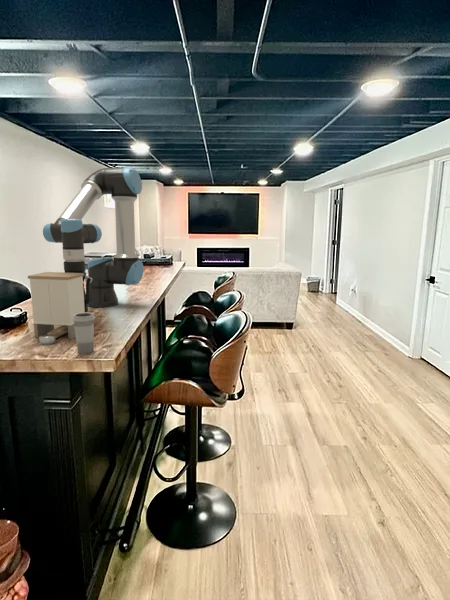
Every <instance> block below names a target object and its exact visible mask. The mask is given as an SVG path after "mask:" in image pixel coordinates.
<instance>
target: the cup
mask: <svg viewBox="0 0 450 600" xmlns="http://www.w3.org/2000/svg"><path fill="white" fill-rule="evenodd" d="M95 319H96V317H95V316H94V313H92V312H89V311H88V312H84V313H77V314H74V317H73V319H72V320H73V321H74V328H75V336H76V337H75V341H76V346H77V353H78V354H85V355H86V354H90V353H91V354H92V353H93V352H94V340H95V323H94V320H95Z"/></svg>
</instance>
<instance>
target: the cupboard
mask: <svg viewBox="0 0 450 600" xmlns="http://www.w3.org/2000/svg"><path fill="white" fill-rule="evenodd" d="M83 276H84V273H65V271H64V272H61V271H56V272H55V271H44V272H39V273H35V274H30V275H27V279H29V286H30V296H31V297H30V298H31V308H32V319H33V320H32V321H33V331H34V338H39V336H41V335H45V334H47V333H48V332H50V331H52V330H54V329H55V326H63V325H68V332H67V336H68V340H73V339H76V336H75V328H74V321H73V320H72V319H73V317H74V314H77V313H84V312H85V308H84V292H83Z"/></svg>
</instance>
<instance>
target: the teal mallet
mask: <svg viewBox="0 0 450 600" xmlns="http://www.w3.org/2000/svg"><path fill="white" fill-rule="evenodd" d="M66 333H67V334H68V325H60V326H59V327H56V328H54V330H52V331H50V332H48V333H47V334H54V335H55V336H56V339H57V338H59V337H61V336H63V335H65V334H66Z"/></svg>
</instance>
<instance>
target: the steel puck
mask: <svg viewBox="0 0 450 600" xmlns="http://www.w3.org/2000/svg"><path fill="white" fill-rule="evenodd" d="M38 339H39V345H41V346H51V345H54V344H56V343H57V338H56V336H55V335H54V334H44V335H41V336H39V337H38Z"/></svg>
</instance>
